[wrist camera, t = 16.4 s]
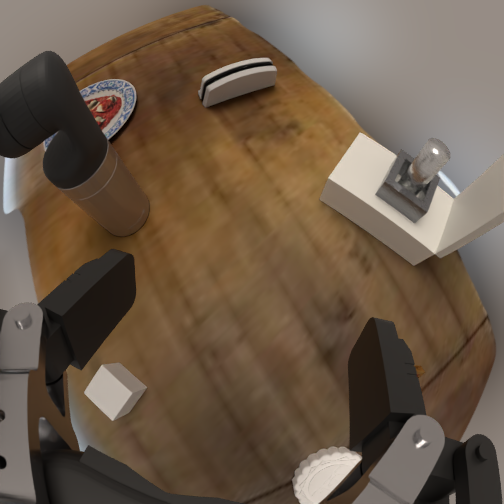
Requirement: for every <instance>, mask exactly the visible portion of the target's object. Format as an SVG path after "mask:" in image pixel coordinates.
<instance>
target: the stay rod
mask: <svg viewBox="0 0 504 504" xmlns="http://www.w3.org/2000/svg"><path fill="white" fill-rule="evenodd" d="M449 159H450V152H449V149H448V148H447V146H446V145H445V144H444V143H443V142H441V141H440V140H438V139H435V138H431V139H429V140H428V141H427V143H426V144H425V146H424V147H423V148H422V150H421V151H420V152H419V154H418V155H417V157H416V158H415V159H414V161H413V162H412V163H411V165H410V166H409V167H408V169H407V170H406V171H405V173H404V174H403V175H402V177H401V178H400V179H399V181H398V182H397V183H399V184H400V185H401V186H403V187H404V188H406V189H407V190H408V191H410V192H411V193H412V194H414V195H415V196H417V195H418V194H419V192H420V191H421V190H422V189H423V188H424V187H425V186H426V185H427V184H428V183H429V182H430V181H431V179H432V178H433V177H434V176H435V175H436V174H437V173H438V172H439V171H440V169H441V168H442V167H443V166H444V165H445V164H446V163H447V162H448V160H449Z"/></svg>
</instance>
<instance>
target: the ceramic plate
mask: <svg viewBox="0 0 504 504" xmlns="http://www.w3.org/2000/svg"><path fill="white" fill-rule="evenodd" d="M80 93H81V95H82V97H83V99H84V101H85V103H86V105H87V106H88V108H89V110H90V111H91V113H92V115H93V116H94V118H95V120H96V121H97V123H98V125H99V127H100V128H101V130H102V132H103V133H104V135H105V136H106V138H107V139H108V140H109V139H110V138H111V137H112V136H113V135H114V134H116V133H117V131H118V130H119V129H120V128H121V127H122V126H123V125H124V124H125V122H126V121H127V119H128V118H129V116H130V115H131V113H132V111H133V109H134V106H135V103H136V91H135V88H134V87H133V85H132V84H130V83H129V82H127V81H124V80H119V79H112V80H105V81H101V82H98V83H95V84H93V85H90V86H88V87H86V88H85V89H83V90H81V91H80ZM56 134H57V132H56V133H55V134H54V135H52V136H51V137H49V138H48V139H46V140H45V141H44V149H45V152H46V149H47V147H48V145H49V143H50V142H51V140H52V139H53V137H54V136H55V135H56Z"/></svg>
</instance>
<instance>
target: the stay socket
mask: <svg viewBox="0 0 504 504" xmlns="http://www.w3.org/2000/svg"><path fill="white" fill-rule="evenodd" d="M413 161H414V158H412V157H411V156H410V155H408V154H407V153H406V152H404V151H403V150H401V151H400V152H399V153H398V155H397V156H396V158H395V159H394V161H393V162H392V164H391V166H390V168H389V170H388V172H387V173H386V175H385V177H384V179H383V181H382V183H381V185H380V186H379V188H378V190H377V192H376V194H375V195H376V196H378V197H379V198H381V199H382V200H383V201H385V202H386V203H388V204H389V205H390V206H392V207H393V208H395V209H396V210H397V211H399V212H400V213H401V214H403V215H404V216H405V217H407V218H408V219H409V220H411V221H412V222H413V223H416V222H417V221H418V220H419V219H420V218H422V217H423V216H424V215H425V214H426V213H427V212H428V210H429V207H430V204H431V202H432V199H433V196H434V193H435V191H436V188H437V185H438V182H439V179H440V178H439V177H438V176H437V175H435V176H434V177H433V178H432V179H431V181H430V182H429V183H428V184H427V185H426V186H425V187H424V188H423V189H422V190H421V191H420V194H419V196H418V197H416V196H415V195H414V194H412V193H411V192H410V191H408V190H407V189H406V188H404V187H403V186H401V185H400V184H399V183H397V182H396V181H395V179H396V177H397V175H398V174H399V175H401V176H402V175H403V174H404V173H405V171H406V170H407V169H408V167H409V166H410V165H411V163H412V162H413Z"/></svg>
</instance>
